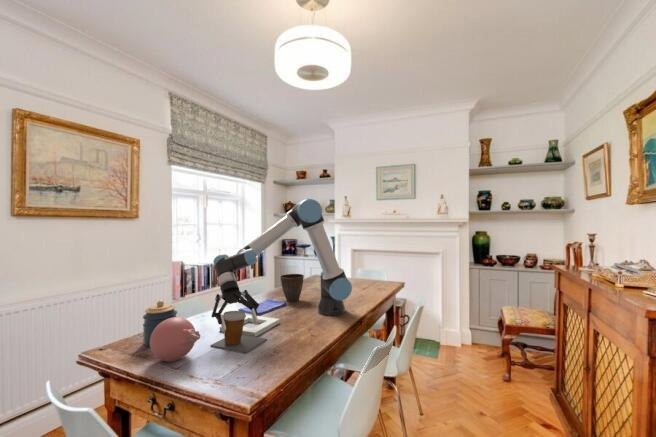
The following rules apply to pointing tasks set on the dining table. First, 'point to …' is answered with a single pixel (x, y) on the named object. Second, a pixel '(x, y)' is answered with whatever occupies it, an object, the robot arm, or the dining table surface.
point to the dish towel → (265, 307)
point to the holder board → (264, 325)
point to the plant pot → (292, 286)
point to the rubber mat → (241, 344)
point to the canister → (156, 318)
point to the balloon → (173, 339)
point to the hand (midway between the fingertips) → (241, 326)
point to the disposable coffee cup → (233, 326)
